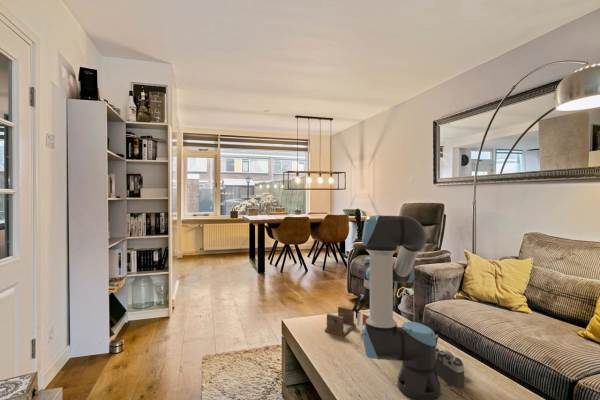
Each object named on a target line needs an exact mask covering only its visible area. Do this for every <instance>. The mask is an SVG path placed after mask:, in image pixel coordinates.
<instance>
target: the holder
mask: <svg viewBox="0 0 600 400" xmlns="http://www.w3.org/2000/svg"><path fill="white" fill-rule="evenodd" d="M337 307H338V308H337V315H336V314H331V313H327V314H326V328H324V332H325V333H329V334H332V335H337V336H340V337H345V336H346V335H347V334H348V333H349V332H350V331H352V330H353V328H355V327H356V326H357V323H355V311H353V310H352V309H353V308H349V307H345V306H341V305H340V306H337Z"/></svg>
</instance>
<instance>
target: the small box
mask: <svg viewBox="0 0 600 400" xmlns="http://www.w3.org/2000/svg"><path fill="white" fill-rule="evenodd" d="M369 317H370V312H366V313H365V312H364V313H362V325H361V327H362V326H363V325H366V319H368V318H369ZM361 333H362V334H363V332H362V331H361Z"/></svg>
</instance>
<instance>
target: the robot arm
mask: <svg viewBox="0 0 600 400" xmlns="http://www.w3.org/2000/svg"><path fill="white" fill-rule="evenodd" d="M362 229H363V230H362V236H361V244H362V245H363V246H365V251H366V252H367V253H368V254H369V256H366V257H365V258H364V261H363V265H364V267H363V270H364V271H363V273H364V274H363V275H364V277H363V280H364V281H363V294H362V293H360V294H358V295H357V299H356V301H355V303H354V305H353V308H351V309H352V310H353V311H354V313H355V319H356V322H357V323H356V326H357V327H359V326H360V325H361V323H362V322H361V319H362V318H361V310H362V309H363V308H364V307H365V306H367V305H368V306H369V313H370V317H369V318H368V319H366V325H363V326H362V325H361V333H362V332H363V333H362V338H363V346H364V353H365V356H366V357H367V358H369V359H375V360H378V361H379V360H384V361H401V362H402V365H401V367H400V370H399V373H398V376H397V388H398V389H399V390H400V391H401V392H402V393H403V394H405V395H406V396H408V397H409V398H413V399H415V400H435V399H438V398H439V397H440V396H441V384H440V381H439V376H438V375H437V374H436V370H435V362H436V347H437V346H436V338H435V333H434V331H433V330H432V329H430V328H429V327H427V326H425V325H423V324H420V323H421V322H417V321H416V322H414V321H405V322H403V323H402V326H398V322H397V321H396V320H395V319H394V307H393V306H394V303H393V302H394V299H393V298H394V296H393V295H394V294H393V293H394V291H393V290H394V289H393V288H394V285H393V283H403V284H404V283H412V282H413V281H414V279H415V272H414V268H413V267H414V264H415V262H416V259H417V257H418V255H419V253H420V251H422V250H423V248H425V245H426V243H427V233H426V231H425V228H424V226H423V225H422V224H421V223H420V222H419V221H418V220H417V219H415V218H413V217H412V216H409V215H379V214H378V215H377V214H376V215H368V216H366V218H365V219H364V223H363V228H362ZM398 247H399V250H398V253H397V256H396V260H395V262H393V259H394V258H393V255H394V254H395V253H396V252H397V248H398ZM393 263H395V264H394V265H393ZM362 300H364V302H363V303H362V304H361V305H360V306H359V304H360V303H361V301H362Z"/></svg>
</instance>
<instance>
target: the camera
mask: <svg viewBox="0 0 600 400" xmlns="http://www.w3.org/2000/svg"><path fill="white" fill-rule="evenodd" d="M464 368H465V367H464V363H463V361H462V359H460V357H456V356H455V355H453V353H452V352H451V351H449V350H448V349H446V350H442V349H441V350H440V349H439V348H438V347H437V346H436V362H435V370H436V374H437V376H438V377H440V378H441V377H442V379H443V380H444V381H446V382H447V383H448V382H449V383H448V384H450V385H451V386H452V387H454V388H455V389H462V388H461V387H463V388H464V387H465V369H464Z"/></svg>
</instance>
